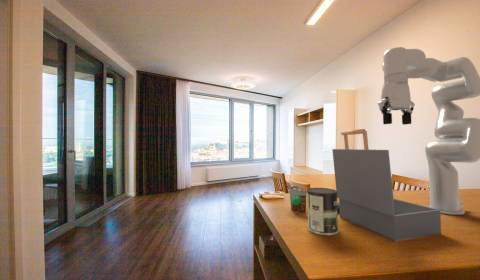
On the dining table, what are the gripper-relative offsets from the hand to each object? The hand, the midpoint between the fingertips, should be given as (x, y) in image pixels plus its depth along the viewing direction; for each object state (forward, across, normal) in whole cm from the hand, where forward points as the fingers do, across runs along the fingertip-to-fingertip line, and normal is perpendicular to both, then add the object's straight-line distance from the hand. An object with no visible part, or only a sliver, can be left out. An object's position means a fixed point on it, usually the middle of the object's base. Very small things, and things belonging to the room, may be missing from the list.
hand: (397, 124), depth 83 cm
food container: (+38, +30, -27) cm, 56 cm away
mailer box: (+38, +8, 0) cm, 39 cm away
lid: (+16, +19, 0) cm, 25 cm away
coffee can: (+38, +33, -3) cm, 51 cm away
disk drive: (+39, +14, -22) cm, 47 cm away
